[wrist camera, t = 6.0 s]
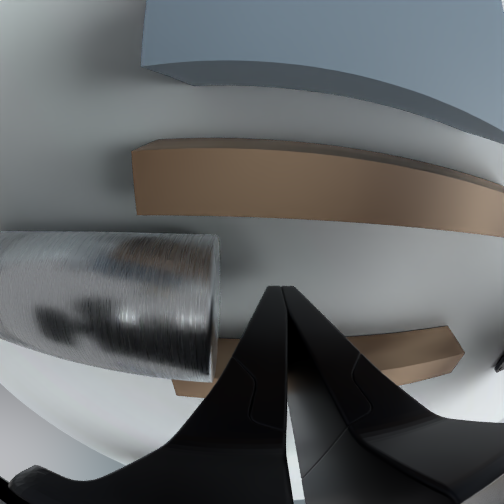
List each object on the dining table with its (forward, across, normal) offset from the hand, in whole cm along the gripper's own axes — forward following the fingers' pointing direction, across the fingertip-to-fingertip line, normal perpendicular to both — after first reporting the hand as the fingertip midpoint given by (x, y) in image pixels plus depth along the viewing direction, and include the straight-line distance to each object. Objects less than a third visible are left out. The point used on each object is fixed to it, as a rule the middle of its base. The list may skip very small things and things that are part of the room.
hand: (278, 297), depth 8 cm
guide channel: (+1, -3, 0) cm, 3 cm away
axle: (-1, +7, 0) cm, 7 cm away
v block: (+1, -2, -10) cm, 11 cm away
